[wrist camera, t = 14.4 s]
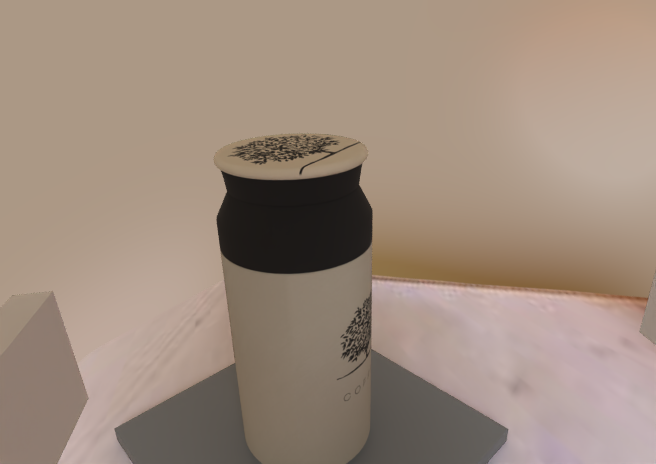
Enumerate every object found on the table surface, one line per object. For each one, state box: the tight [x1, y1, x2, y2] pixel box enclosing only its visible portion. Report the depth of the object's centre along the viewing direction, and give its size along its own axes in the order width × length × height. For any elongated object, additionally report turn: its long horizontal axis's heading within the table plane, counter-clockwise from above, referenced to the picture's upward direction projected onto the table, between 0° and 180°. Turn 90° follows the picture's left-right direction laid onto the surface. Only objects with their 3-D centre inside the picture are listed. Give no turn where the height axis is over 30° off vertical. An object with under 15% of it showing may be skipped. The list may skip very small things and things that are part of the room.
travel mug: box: [214, 134, 372, 464], centre depth 27 cm, size 8×8×18 cm
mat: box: [115, 349, 508, 464], centre depth 30 cm, size 18×18×1 cm
